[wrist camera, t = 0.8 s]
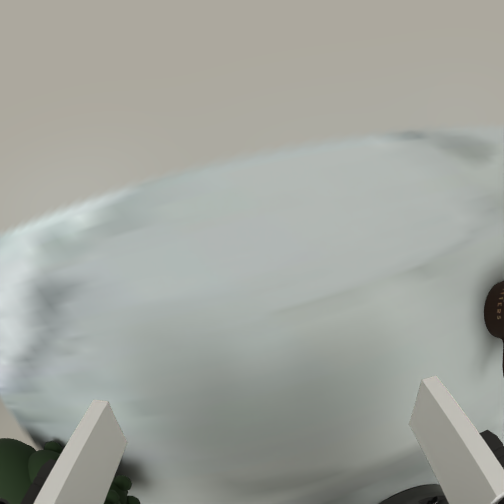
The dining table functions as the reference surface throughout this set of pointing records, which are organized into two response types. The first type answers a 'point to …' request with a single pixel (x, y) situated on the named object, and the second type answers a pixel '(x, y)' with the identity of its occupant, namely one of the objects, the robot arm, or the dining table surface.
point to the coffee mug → (495, 312)
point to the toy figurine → (29, 463)
